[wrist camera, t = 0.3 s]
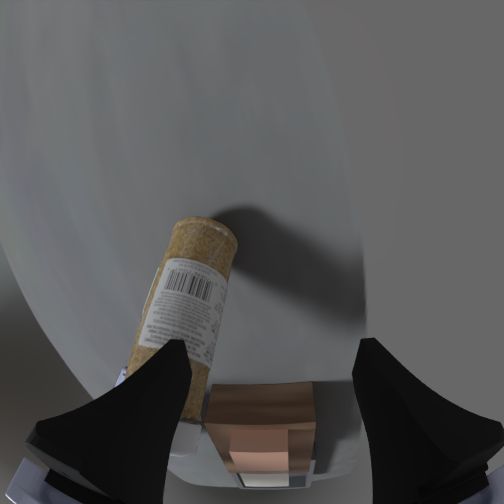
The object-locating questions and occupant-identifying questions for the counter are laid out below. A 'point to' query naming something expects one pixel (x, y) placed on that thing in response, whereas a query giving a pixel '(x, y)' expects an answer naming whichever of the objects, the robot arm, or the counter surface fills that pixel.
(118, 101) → the counter surface
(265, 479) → the cream tile
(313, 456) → the box
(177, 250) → the sprinkles bottle
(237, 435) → the terracotta tile
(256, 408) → the walnut board
